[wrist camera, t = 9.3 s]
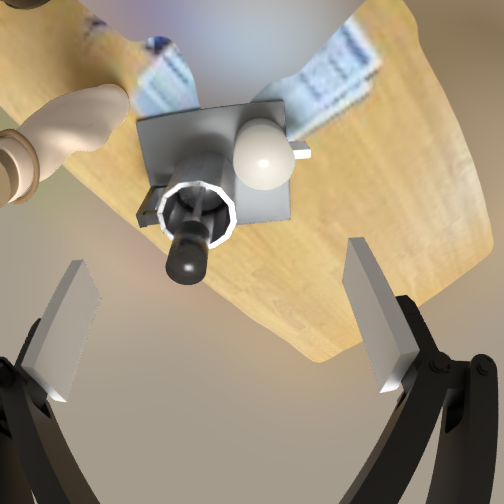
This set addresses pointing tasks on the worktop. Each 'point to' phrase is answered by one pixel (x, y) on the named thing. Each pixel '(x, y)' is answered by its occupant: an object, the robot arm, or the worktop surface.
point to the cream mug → (265, 154)
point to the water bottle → (57, 137)
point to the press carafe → (187, 175)
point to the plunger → (192, 238)
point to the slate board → (218, 140)
